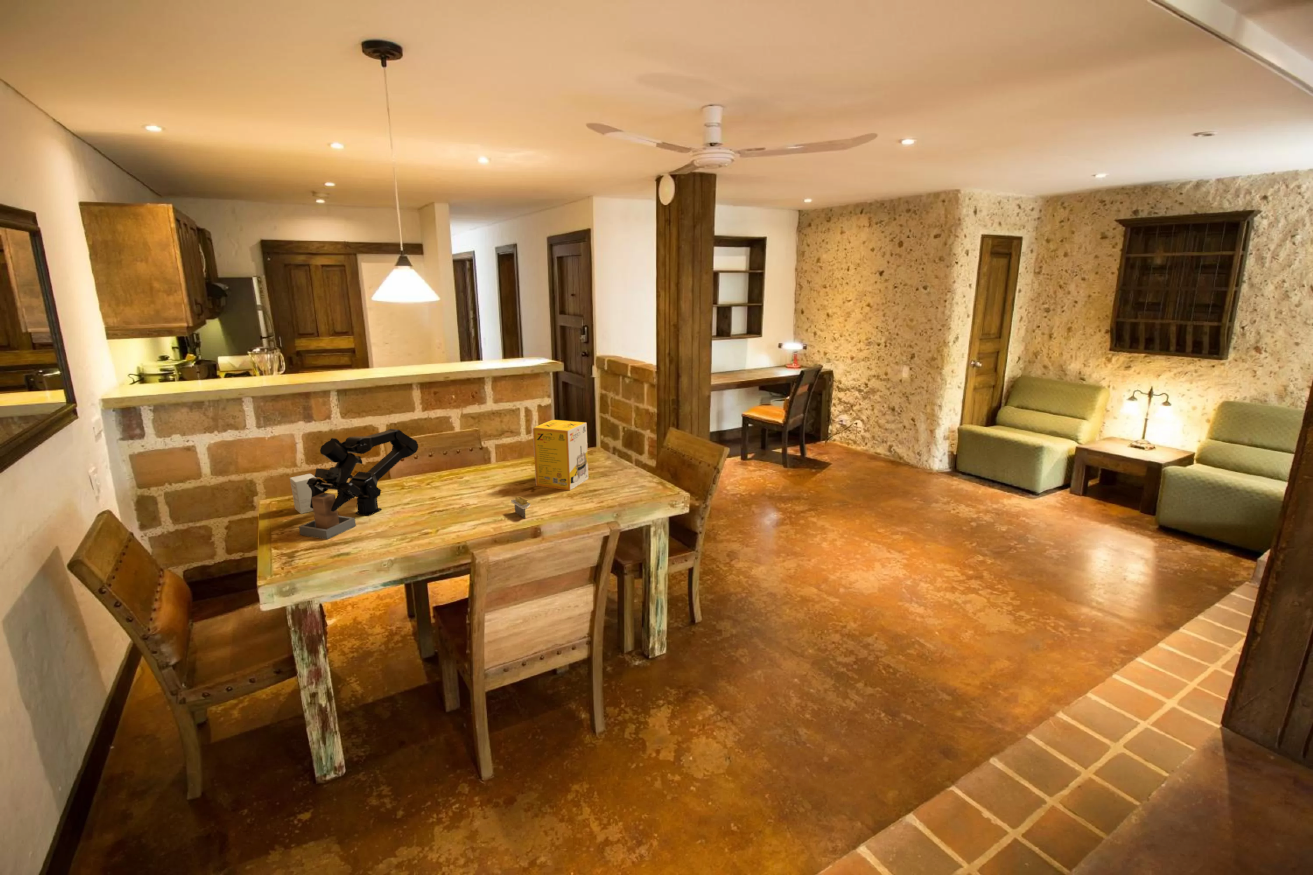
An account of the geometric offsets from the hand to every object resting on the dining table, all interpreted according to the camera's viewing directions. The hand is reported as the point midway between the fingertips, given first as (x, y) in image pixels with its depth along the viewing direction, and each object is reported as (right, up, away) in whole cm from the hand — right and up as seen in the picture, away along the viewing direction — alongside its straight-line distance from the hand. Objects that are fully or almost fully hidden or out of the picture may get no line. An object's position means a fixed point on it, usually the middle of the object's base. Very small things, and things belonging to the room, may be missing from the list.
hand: (321, 509), depth 203 cm
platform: (+64, -4, +17) cm, 67 cm away
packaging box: (+73, +5, +52) cm, 90 cm away
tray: (0, -8, +3) cm, 8 cm away
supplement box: (-18, -3, +23) cm, 29 cm away
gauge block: (0, -7, +3) cm, 8 cm away
